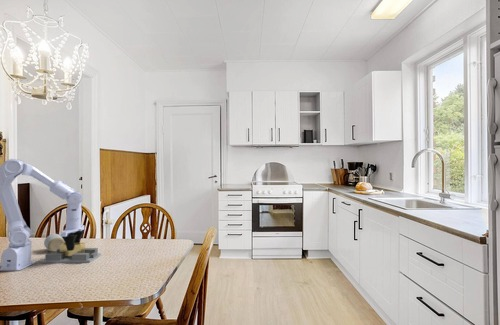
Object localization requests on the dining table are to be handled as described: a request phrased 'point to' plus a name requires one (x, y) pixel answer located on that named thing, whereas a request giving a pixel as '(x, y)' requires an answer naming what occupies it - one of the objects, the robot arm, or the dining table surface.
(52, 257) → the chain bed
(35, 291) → the dining table surface
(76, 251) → the link
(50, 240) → the ceramic mug
